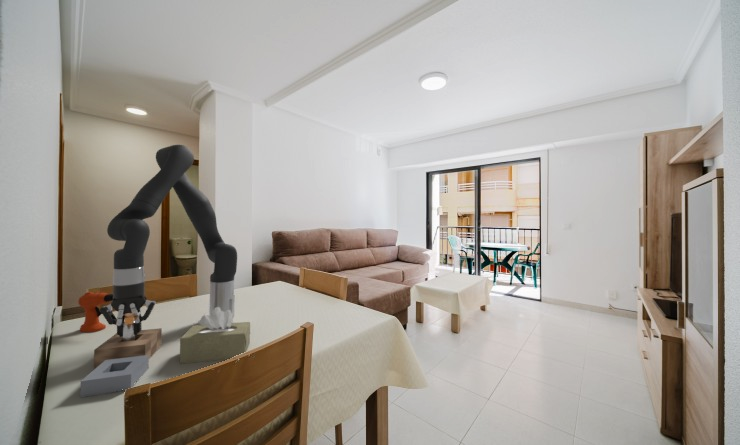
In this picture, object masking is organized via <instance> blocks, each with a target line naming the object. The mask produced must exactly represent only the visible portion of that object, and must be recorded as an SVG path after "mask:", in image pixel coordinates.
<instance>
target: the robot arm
mask: <svg viewBox="0 0 740 445" xmlns="http://www.w3.org/2000/svg"><path fill="white" fill-rule="evenodd" d="M194 157H195V156H194V154H193V151H192V150H191V149H190V148H189V147H188V146H185V145H183V144H172V145H170V146H166V147H163V148H160V149H158V150H157V151H156V153H155V161H156V163H157V165H158V167H159V169H160V170H159V171H158V172H157V173H156V174H155V175H153V177H152V178H151V179H149V180H148V181H147V182H146V183H145V184H144V185H143V186H141V188H140V189H139V191H138V192H137V193H136V194H135V196H134V197H133V199H131V202H130V203H129V205H128V206H125V208H123V209H122V210H121V211H120V212H119V213H117V214H116V215H115V216H114V217H113V218H112V219H111V220H110V222H109V223H108V226H107V228H106V232H107V235H108V237H109V238H110V239H111V240H114V241H118V242H121V241H122V242H124V245H123V248H119V249H117V250H116V251H114V254H113V273H112V294H113V301H110V303H109V304H108V305H104V306H102V307H101V308H99V310H100V312H101V313H102V314H101V315H102V316H103V318H104V319H105V320H106V322H107V323H108V325H115V326H116V333H117V335H119V336H120V337H122V334H123V322H124V321H125V315H126V314H127V313H132V315H133V316H134V320H135V324H134V335H137V334H138V333H139V332H140V331H141V330H143V329H142V322H143V321H146V320H147V319H148V318H149V317H150V316H151V313H152V312H153V310H154V308H155V306H156V304H157V301H156V300H148V299H147V297H146V284H145V283H146V282H145V280H146V275H145V267H144V265H145V264H144V261H145V260H144V257H145V256H144V253H145V251H146V248H147V244H148V241H149V240H150V239H149V237H150V233H151V232H150V226H149V224H148V223H147V222H146V221H145V219H149V218H152V217H153V216H154V215H155V214H156V213H157V211H158V209H159V208H160V206H161V205H162V203H163V201H164V200H165V198H166V197H167V195H168V193H170V191H171V190H172V188H173V190H174V192H175V194H176V195H177V198H178V199H179V201H180V203H181V205H182V207H183V209H184V212H185V213H186V215H187V217H188V218H189V221H190V223H192V225H193V227H194V230H195V231H196V233H197V235H198V236H199V237H200V239H201V241H202V245H203V247H204V250H205V252H206V255H207V257H208V259H209V261H210V262H212V263H213V265H214V268H213V272H212V273H211V274H210V277H209V278H210V279H209V306H208V307H209V309H208V310H209V311H208V312H209V314H208V315H210V314H211V312H212V311H213V310H214V309H215V308H216V307H220V309H221V311H224V312H225V311H227V310H230V311H231V313H232V314H234V316H233V318H234V317H235V302H236V301H235V299H236V298H235V275H236V273H237V267H238V252H237V249H236V247H235V246H233V245H232V244H229V243H225V241H224V240H223V238H222V236H221V235H220V233H219V230H218V226H217V225H218V224H217V223H218V222H217V217H216V213H215V210H214V208H213V206H212V204H211V202H210V200H209V198H208V197H207V196H206V195H205V194H204V193H203V191H201V190H200V189H199V188H197V187H196V186H195V185H194V184H193V183H192V182H191V180H190V179H189V176H188V175H187V173H186V172H187V171H188V170H189V169H190V168H192V166H193V163H194V160H195V158H194ZM144 305H145V307H146V310H145V312H144V314H143V315H142V309H141V308H142V307H143V306H144ZM113 309H114V310H115V311H117V316H115V314H114V313H113Z"/></svg>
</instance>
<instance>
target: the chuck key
mask: <svg viewBox="0 0 740 445" xmlns="http://www.w3.org/2000/svg"><path fill="white" fill-rule="evenodd" d="M134 324H135V320H134V316H133V315H132V313H127V314H126V315H125V320H124V322H123V334H122V342H126V341H135V335H134Z"/></svg>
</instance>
